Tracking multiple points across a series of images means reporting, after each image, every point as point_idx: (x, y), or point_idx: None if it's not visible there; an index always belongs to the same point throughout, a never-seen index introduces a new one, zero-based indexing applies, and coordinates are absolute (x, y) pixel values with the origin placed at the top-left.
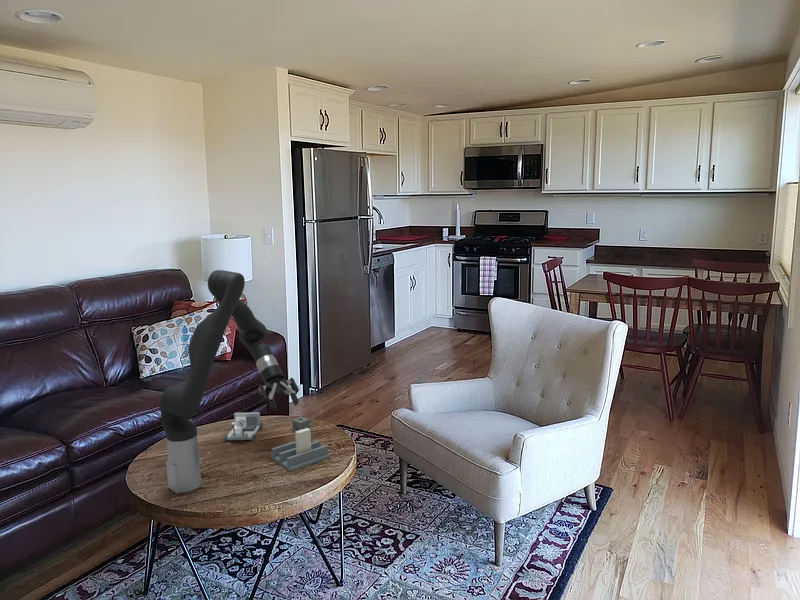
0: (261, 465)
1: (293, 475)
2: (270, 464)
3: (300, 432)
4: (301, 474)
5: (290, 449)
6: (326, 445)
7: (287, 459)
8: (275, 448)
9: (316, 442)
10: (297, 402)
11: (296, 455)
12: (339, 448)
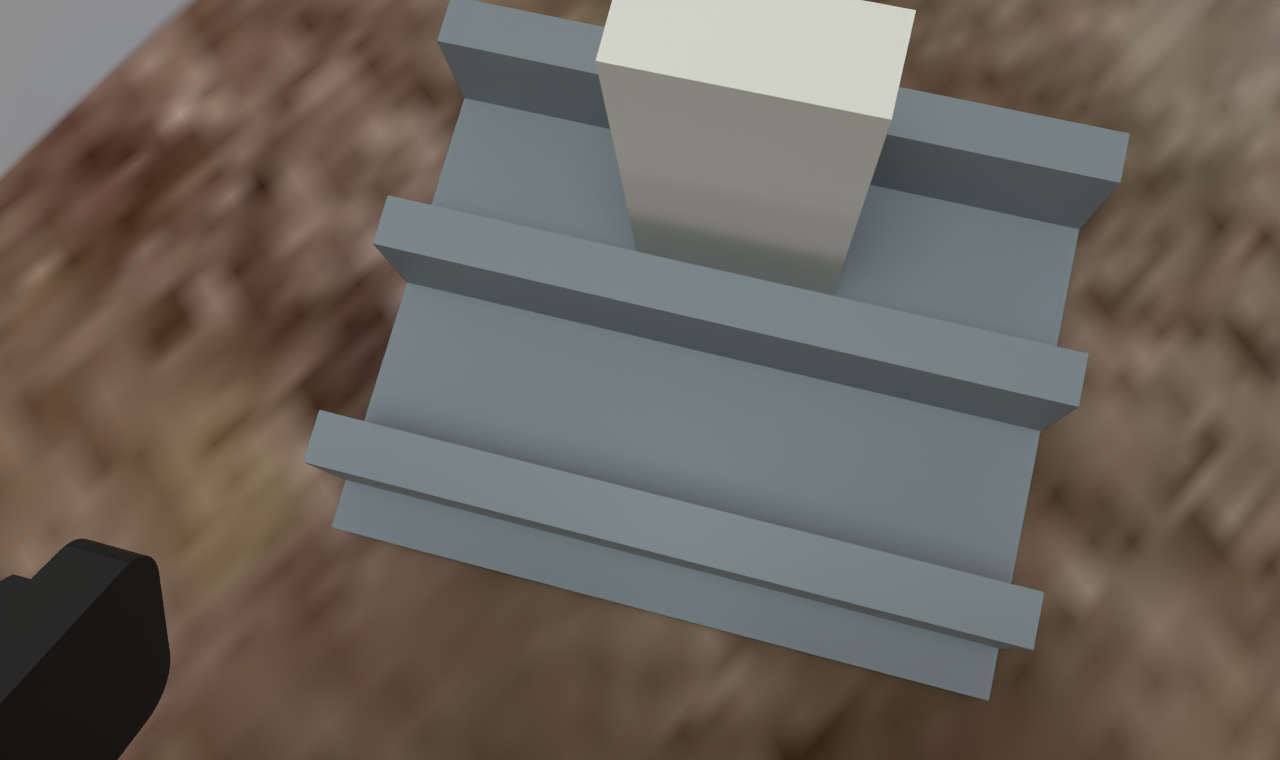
0: (1215, 636)
1: (1128, 64)
2: (1109, 550)
3: (856, 2)
4: (1045, 7)
5: (871, 356)
6: (450, 23)
7: (1117, 169)
8: (997, 592)
9: (444, 212)
10: (102, 548)
11: (969, 124)
12: (205, 140)
